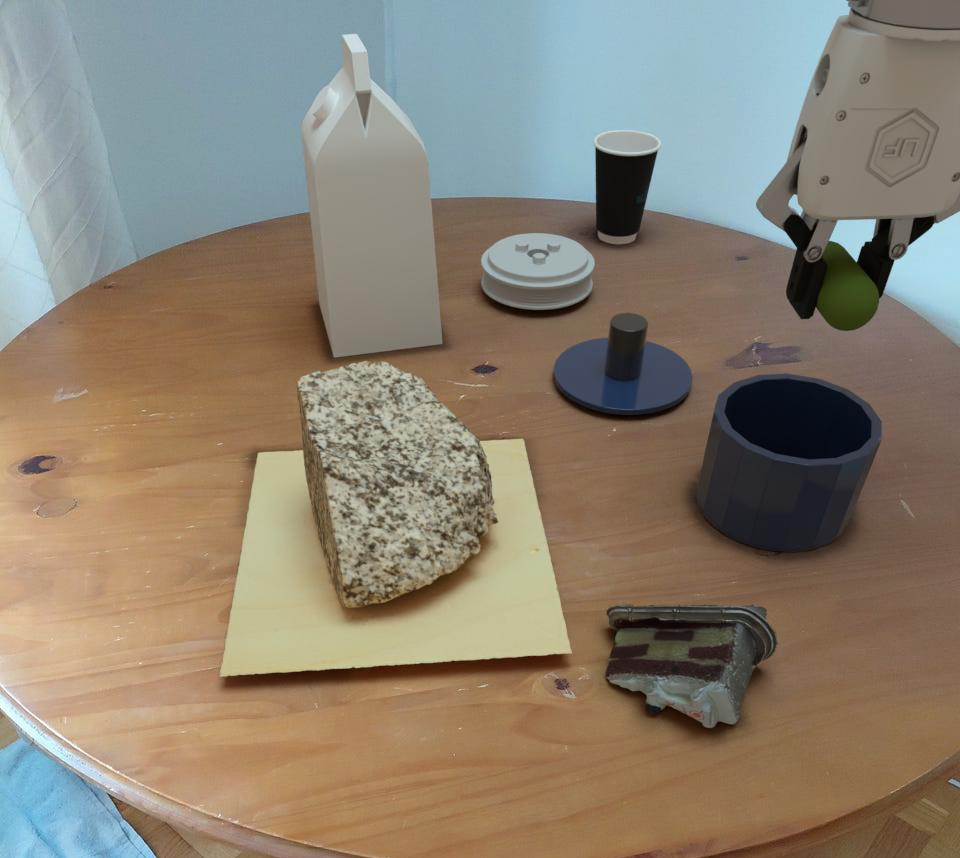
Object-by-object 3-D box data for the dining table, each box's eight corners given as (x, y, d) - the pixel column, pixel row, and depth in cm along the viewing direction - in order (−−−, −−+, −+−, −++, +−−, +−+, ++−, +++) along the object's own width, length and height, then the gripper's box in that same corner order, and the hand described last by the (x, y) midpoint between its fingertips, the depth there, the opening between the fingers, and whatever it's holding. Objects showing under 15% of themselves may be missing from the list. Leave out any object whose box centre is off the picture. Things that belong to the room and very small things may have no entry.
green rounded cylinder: (783, 282, 66) (796, 232, 63) (831, 280, 66) (846, 231, 63) (825, 341, 60) (841, 289, 57) (877, 339, 60) (895, 287, 57)
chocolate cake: (565, 692, 62) (698, 672, 52) (596, 607, 64) (727, 573, 55) (656, 754, 66) (794, 747, 56) (681, 672, 69) (817, 652, 59)
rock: (251, 450, 80) (323, 290, 71) (459, 534, 89) (548, 402, 79) (210, 674, 60) (303, 493, 51) (484, 755, 69) (607, 613, 59)
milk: (442, 344, 93) (433, 57, 74) (333, 357, 92) (295, 67, 72) (420, 292, 101) (406, 21, 82) (319, 303, 99) (281, 29, 80)
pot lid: (672, 345, 93) (682, 285, 89) (705, 417, 84) (719, 355, 79) (544, 350, 93) (547, 291, 88) (563, 424, 83) (568, 362, 79)
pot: (818, 455, 80) (846, 370, 74) (871, 547, 71) (909, 460, 65) (680, 462, 79) (697, 377, 73) (718, 556, 71) (741, 468, 64)
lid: (518, 328, 96) (519, 283, 92) (461, 282, 103) (460, 238, 99) (613, 300, 100) (618, 256, 96) (552, 258, 107) (554, 215, 104)
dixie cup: (578, 225, 114) (585, 131, 106) (638, 221, 115) (649, 127, 107) (594, 252, 109) (603, 154, 101) (656, 247, 110) (670, 150, 101)
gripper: (802, 12, 46) (728, 340, 60) (1106, 7, 47) (966, 331, 61) (759, -20, 51) (700, 288, 65) (1034, -24, 52) (920, 281, 66)
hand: (829, 306), depth 62 cm, fingers closed on green rounded cylinder, 3 cm apart
